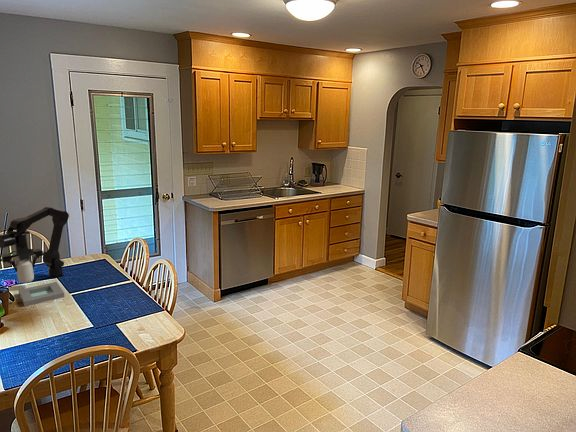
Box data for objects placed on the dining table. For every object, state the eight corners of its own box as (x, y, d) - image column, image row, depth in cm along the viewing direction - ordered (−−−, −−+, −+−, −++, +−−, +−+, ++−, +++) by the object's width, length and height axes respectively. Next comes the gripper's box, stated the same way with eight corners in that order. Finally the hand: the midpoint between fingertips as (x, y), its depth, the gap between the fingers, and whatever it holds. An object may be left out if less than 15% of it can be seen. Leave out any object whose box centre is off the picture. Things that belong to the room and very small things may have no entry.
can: (21, 284, 222) (18, 263, 219) (16, 281, 227) (13, 260, 224) (36, 280, 228) (33, 260, 225) (30, 277, 232) (28, 257, 230)
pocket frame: (56, 285, 231) (56, 281, 230) (64, 297, 217) (64, 292, 217) (19, 294, 219) (18, 289, 219) (24, 306, 206) (24, 301, 205)
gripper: (2, 250, 210) (6, 278, 214) (43, 243, 222) (47, 270, 226) (-1, 244, 218) (3, 272, 222) (39, 238, 230) (43, 264, 234)
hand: (24, 270), depth 226 cm, fingers closed on can, 7 cm apart
